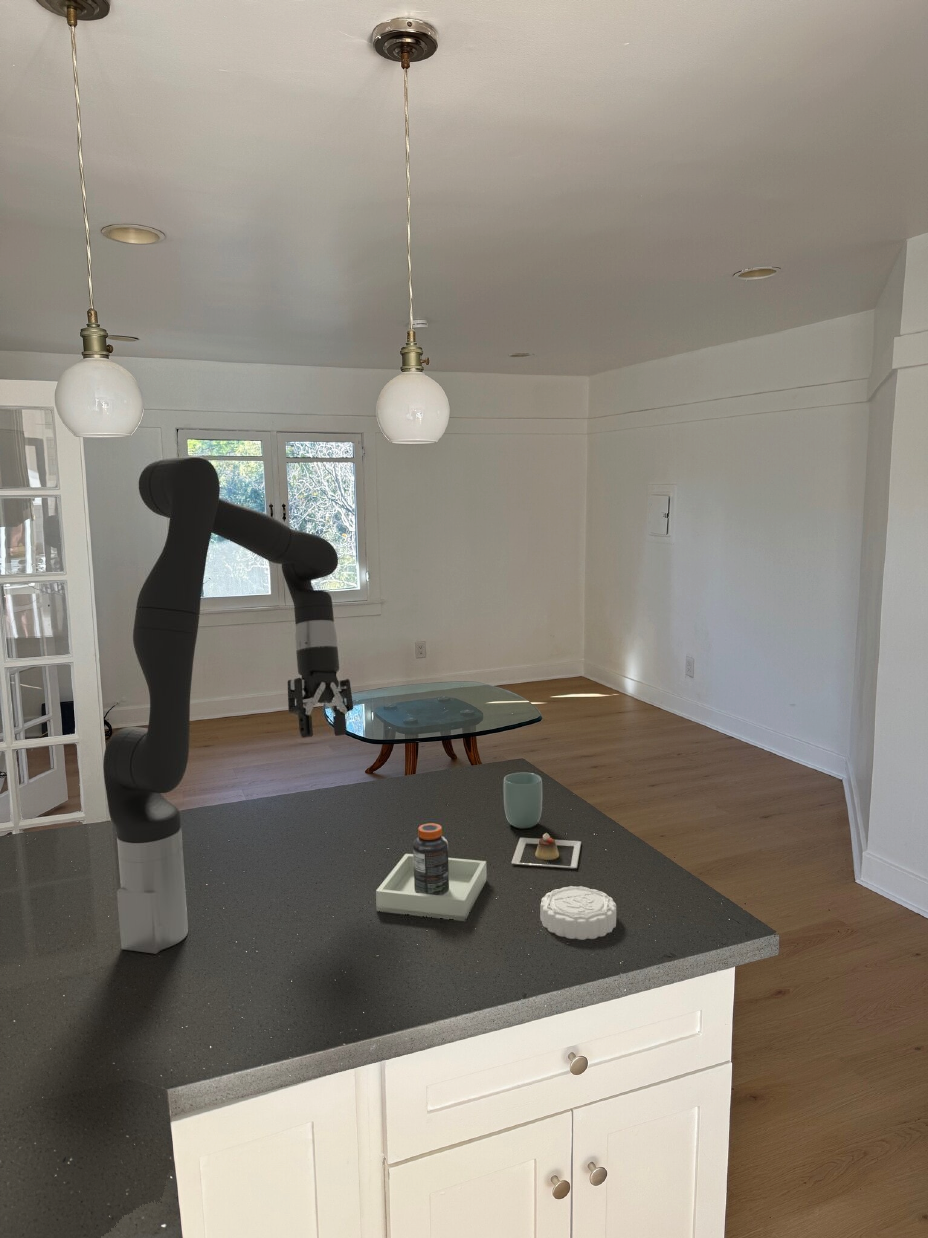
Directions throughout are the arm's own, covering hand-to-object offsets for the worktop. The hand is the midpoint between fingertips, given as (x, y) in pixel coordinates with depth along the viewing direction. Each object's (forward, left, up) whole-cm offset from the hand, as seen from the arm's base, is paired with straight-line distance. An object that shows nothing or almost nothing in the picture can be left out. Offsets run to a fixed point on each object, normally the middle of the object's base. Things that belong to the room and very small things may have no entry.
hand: (324, 736), depth 149 cm
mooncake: (-9, -47, -25) cm, 54 cm away
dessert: (+14, -38, -26) cm, 48 cm away
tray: (-6, -22, -25) cm, 34 cm away
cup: (+28, -31, -25) cm, 49 cm away
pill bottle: (-6, -22, -24) cm, 33 cm away
